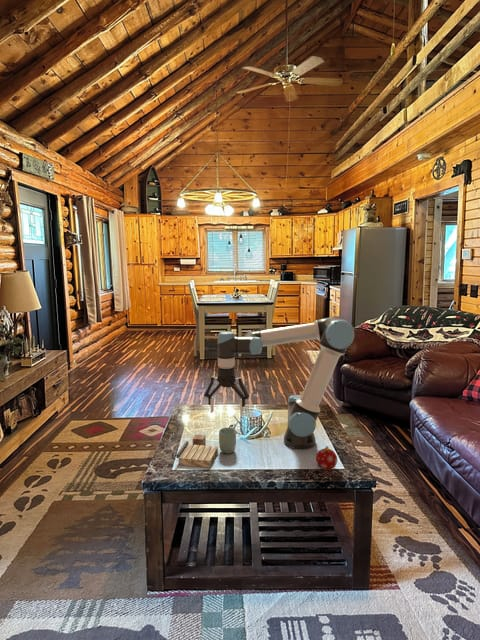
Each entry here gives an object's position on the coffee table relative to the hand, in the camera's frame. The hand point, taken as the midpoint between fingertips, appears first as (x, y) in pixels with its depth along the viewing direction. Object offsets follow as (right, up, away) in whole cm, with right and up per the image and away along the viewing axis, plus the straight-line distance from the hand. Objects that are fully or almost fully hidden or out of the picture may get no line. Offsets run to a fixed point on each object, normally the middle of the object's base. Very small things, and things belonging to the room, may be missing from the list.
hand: (226, 412), depth 185 cm
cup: (0, -19, +2) cm, 19 cm away
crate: (-13, -18, +7) cm, 23 cm away
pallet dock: (-12, -19, -5) cm, 23 cm away
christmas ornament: (+42, -21, -13) cm, 49 cm away
